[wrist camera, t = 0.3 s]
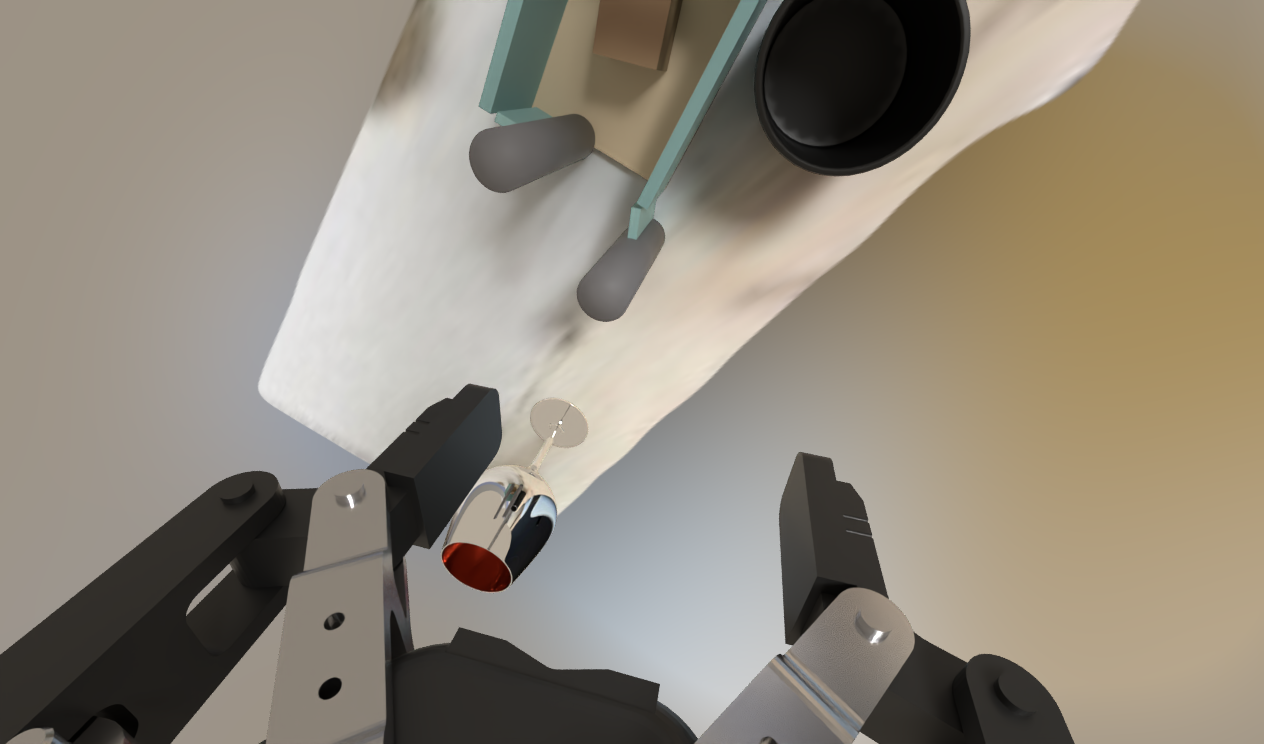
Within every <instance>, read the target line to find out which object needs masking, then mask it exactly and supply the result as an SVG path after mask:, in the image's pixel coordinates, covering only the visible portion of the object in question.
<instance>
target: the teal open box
mask: <svg viewBox="0 0 1264 744" xmlns="http://www.w3.org/2000/svg"><path fill="white" fill-rule="evenodd" d="M766 2H767V0H683V2H682V6H681V11H680V15H679V19H678V24H677V28H676V33H675V37H674V42H673V46H672V51H671V55H670V60H669V64H668V69H667V71H659V70H653V69H650V68H646V67H642V66H639V65H635V64H631V63H628V62H624V61H620V60H617V59H613V58H609V57H606V56H602V55H598V54H595V53H592V52H593V45H594V38H595V31H596V24H597V17H598V11H599V4H600V0H508V2H507V6H506V10H505V13H504V17H503V20H502V24H501V28H500V31H499V35H498V38H497V42H496V46H495V49H494V53H493V57H492V60H491V64H490V67H489V71H488V75H487V78H486V82H485V85H484V89H483V93H482V96H481V100H480V103H479V107H480V108H482V109H484V110H485V111H487V112H488V113H490V114H491V113H497V112H499V111H508V110H516V109H525V108H533V107H537V108H539V109H540V110H542V111H544V112H545V113H547V114H549V115H550V116H552V117H557V116H563V115H568V114H579V115H581V116H583V117H585V118H586V119H587V120H588V121H589V122H590V123H591V125H592V127H593V129H594V132H595V145H594V148H596V149H598V150H599V151H601V152H603V153H604V154H606V155H607V156H609V157H611V158H612V159H614V160H616V161H617V162H619V163H620V164H622V165H624V166H625V167H627V168H628V169H630V170H632V171H633V172H635V173H637V174H638V175H640V176H641V177H643V178H645V179H646V180H648V182H647V184H646V185H645V187H644V189H643V191H642V193H641V195H640V197H639V199H638V201H637V204H639V205H640V206H642V207H644V208H645V209H647V210H648V208H649V207H650V206H651V205H652V204H653V203H654V201H655V200H656V199H657V198H658V197H659V196H660V194H661V193H662V192H663V191H664V190H665V188H666V186H667V185H668V183H669V181H670V179H671V177H672V175H673V173H674V172H675V170H676V168H677V166H678V164H679V162H680V161H681V159H682V157H683V155H684V153H685V151H686V150H687V148H688V146H689V144H690V142H691V140H692V138H693V137H694V135H695V133H696V131H697V129H698V127H699V126H700V124H701V122H702V120H703V118H704V116H705V114H706V113H707V111H708V109H709V107H710V105H711V103H712V102H713V100H714V98H715V96H716V94H717V92H718V90H719V89H720V87H721V85H722V83H723V81H724V79H725V78H726V76H727V74H728V72H729V70H730V68H731V66H732V65H733V63H734V61H735V59H736V57H737V55H738V54H739V52H740V50H741V48H742V46H743V44H744V42H745V41H746V39H747V37H748V35H749V33H750V31H751V30H752V28H753V26H754V24H755V22H756V20H757V19H758V17H759V15H760V13H761V11H762V9H763V7H764V6H765V4H766Z"/></svg>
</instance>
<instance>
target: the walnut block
mask: <svg viewBox="0 0 1264 744" xmlns="http://www.w3.org/2000/svg"><path fill="white" fill-rule="evenodd" d="M682 2H683V0H600V4H599V11H598V17H597V24H596V31H595V38H594V45H593V52H592V53H595V54H598V55H602V56H606V57H609V58H613V59H617V60H620V61H624V62H628V63H631V64H635V65H639V66H642V67H646V68H650V69H653V70H659V71H667V69H668V64H669V60H670V55H671V51H672V46H673V42H674V37H675V33H676V28H677V24H678V19H679V15H680V11H681V6H682Z"/></svg>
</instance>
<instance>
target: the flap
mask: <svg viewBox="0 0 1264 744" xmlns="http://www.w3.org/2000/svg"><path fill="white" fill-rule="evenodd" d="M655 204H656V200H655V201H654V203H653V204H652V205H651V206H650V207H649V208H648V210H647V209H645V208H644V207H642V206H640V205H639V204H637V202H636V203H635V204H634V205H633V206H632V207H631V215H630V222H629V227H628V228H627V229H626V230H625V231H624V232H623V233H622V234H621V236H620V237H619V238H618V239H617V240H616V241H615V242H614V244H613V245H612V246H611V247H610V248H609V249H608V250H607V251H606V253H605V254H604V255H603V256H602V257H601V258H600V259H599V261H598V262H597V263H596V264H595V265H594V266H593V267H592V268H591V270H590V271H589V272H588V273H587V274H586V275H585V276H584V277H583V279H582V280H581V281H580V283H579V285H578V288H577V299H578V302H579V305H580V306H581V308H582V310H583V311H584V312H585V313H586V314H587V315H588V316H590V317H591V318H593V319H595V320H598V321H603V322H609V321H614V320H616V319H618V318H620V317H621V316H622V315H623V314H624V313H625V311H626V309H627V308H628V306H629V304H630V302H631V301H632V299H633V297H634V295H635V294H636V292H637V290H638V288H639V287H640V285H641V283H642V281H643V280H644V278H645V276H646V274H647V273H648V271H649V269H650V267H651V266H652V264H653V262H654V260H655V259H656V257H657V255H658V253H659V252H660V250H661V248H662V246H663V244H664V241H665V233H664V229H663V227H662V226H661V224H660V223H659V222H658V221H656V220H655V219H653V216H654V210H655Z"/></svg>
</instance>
